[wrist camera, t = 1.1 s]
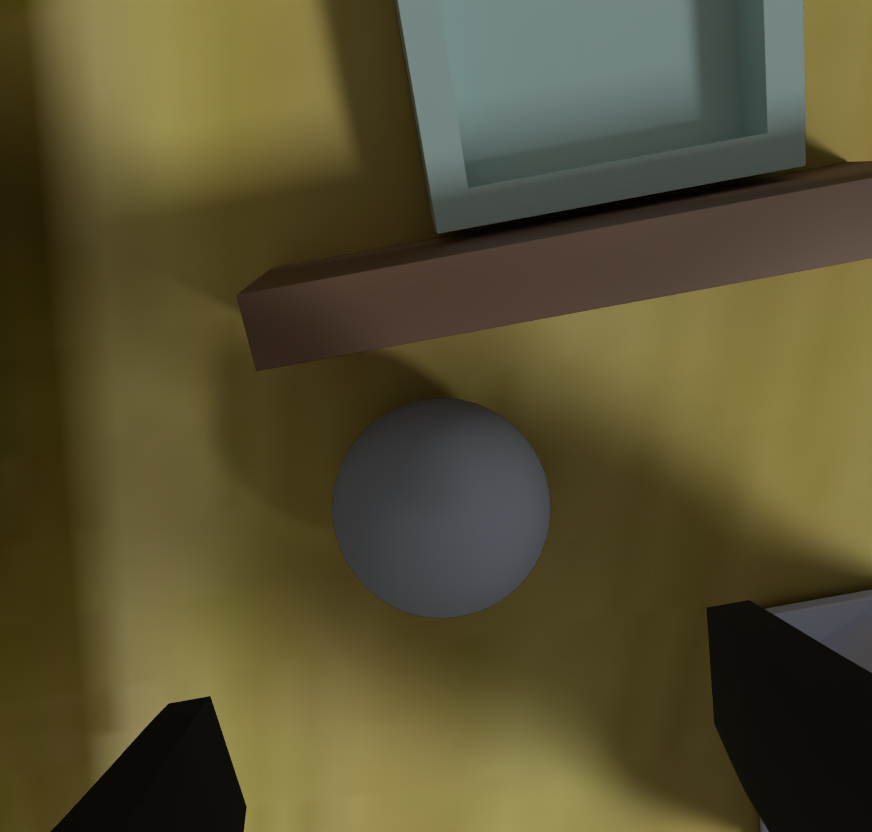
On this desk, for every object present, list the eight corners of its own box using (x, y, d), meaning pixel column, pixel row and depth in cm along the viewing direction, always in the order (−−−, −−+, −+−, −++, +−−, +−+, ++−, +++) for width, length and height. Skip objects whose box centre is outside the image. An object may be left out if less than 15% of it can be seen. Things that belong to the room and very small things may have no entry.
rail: (850, 225, 18) (969, 240, 14) (285, 329, 18) (256, 371, 14) (850, 161, 18) (973, 158, 14) (270, 269, 18) (236, 295, 14)
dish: (766, 166, 18) (805, 165, 16) (433, 227, 18) (437, 233, 16) (753, -244, 15) (798, -297, 13) (365, -170, 15) (361, -214, 13)
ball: (541, 533, 20) (585, 642, 16) (362, 565, 20) (351, 684, 16) (516, 357, 19) (556, 420, 14) (321, 393, 19) (295, 467, 14)
